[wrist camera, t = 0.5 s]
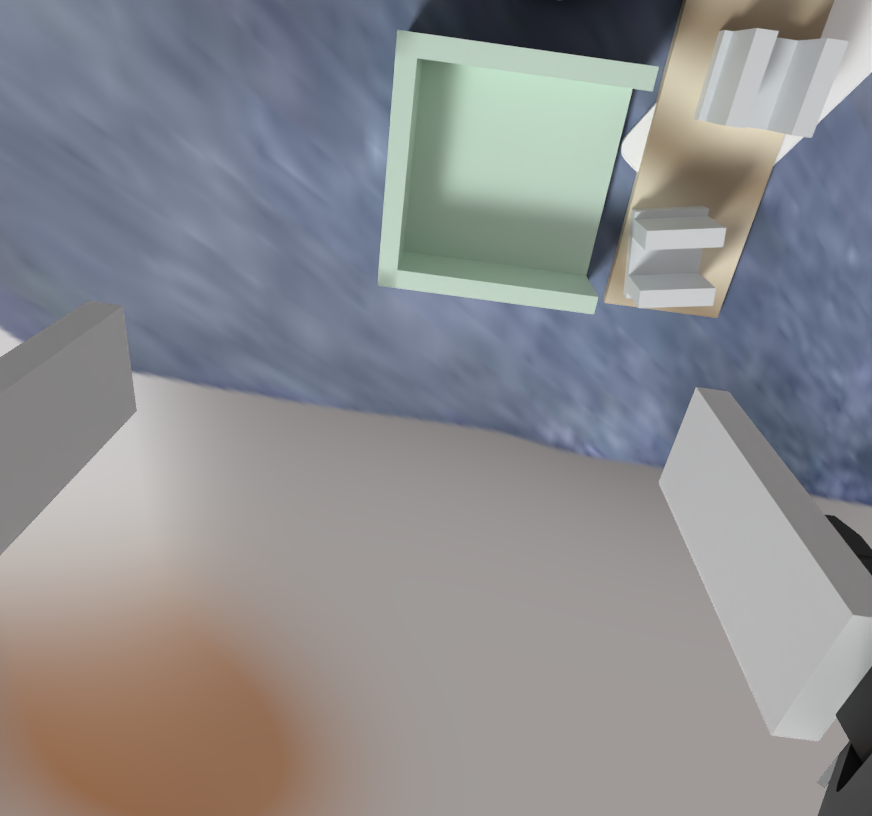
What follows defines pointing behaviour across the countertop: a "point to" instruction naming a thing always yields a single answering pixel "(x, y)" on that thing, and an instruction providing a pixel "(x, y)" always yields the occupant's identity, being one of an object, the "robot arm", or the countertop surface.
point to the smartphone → (866, 52)
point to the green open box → (500, 169)
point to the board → (709, 138)
